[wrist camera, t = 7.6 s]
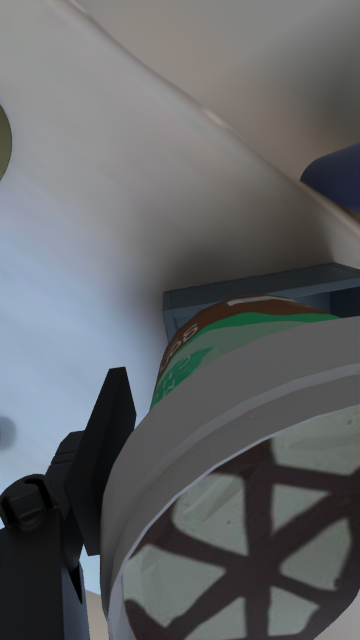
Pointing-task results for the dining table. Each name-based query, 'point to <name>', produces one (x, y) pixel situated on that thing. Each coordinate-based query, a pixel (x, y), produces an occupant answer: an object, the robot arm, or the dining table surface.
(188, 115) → the dining table surface
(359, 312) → the tote
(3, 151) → the cookie cutter
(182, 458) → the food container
